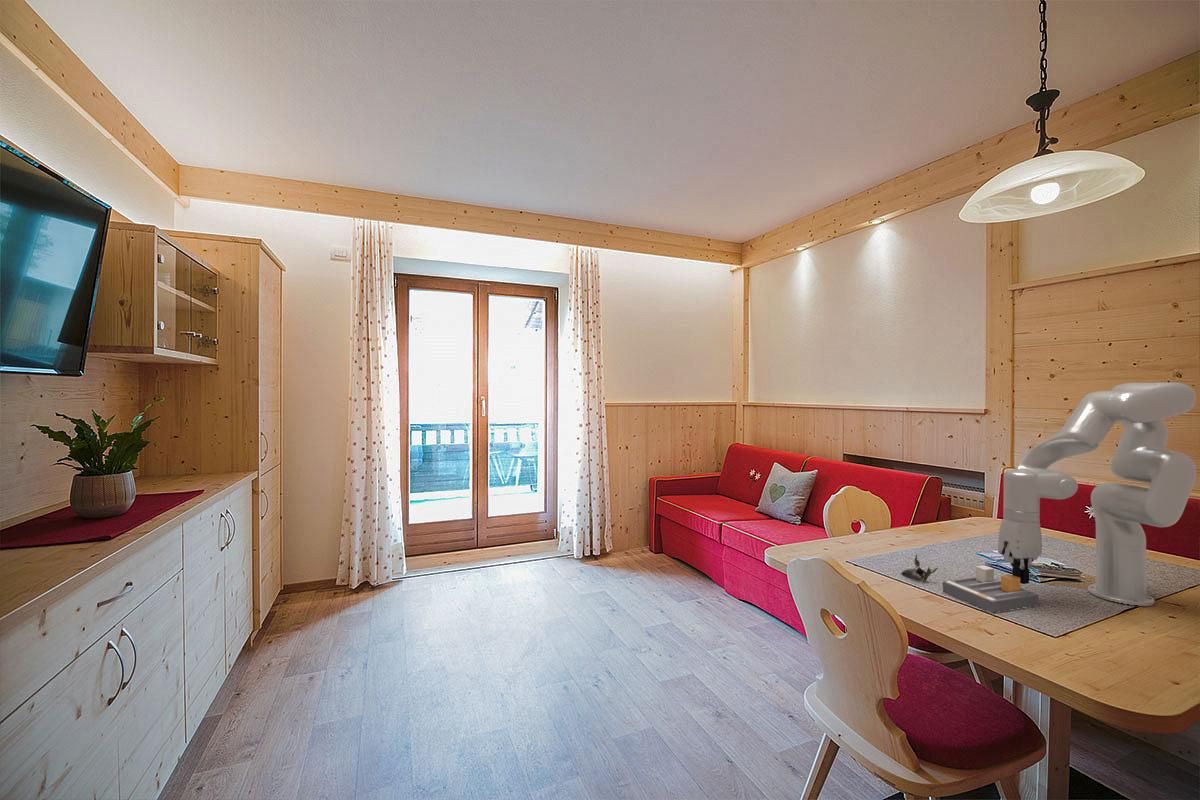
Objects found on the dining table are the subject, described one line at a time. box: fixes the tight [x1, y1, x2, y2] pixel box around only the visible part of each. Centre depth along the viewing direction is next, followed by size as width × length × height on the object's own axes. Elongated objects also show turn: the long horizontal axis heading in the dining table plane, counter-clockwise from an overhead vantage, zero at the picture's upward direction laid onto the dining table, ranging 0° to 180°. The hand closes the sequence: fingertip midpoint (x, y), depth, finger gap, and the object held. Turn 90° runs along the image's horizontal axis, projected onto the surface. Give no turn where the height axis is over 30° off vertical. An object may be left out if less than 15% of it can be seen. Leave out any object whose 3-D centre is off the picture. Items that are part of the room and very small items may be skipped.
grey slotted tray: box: [942, 576, 1040, 613], centre depth 136 cm, size 16×14×4 cm
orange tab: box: [1000, 573, 1021, 592], centre depth 133 cm, size 3×3×4 cm
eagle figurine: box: [901, 554, 938, 583], centre depth 151 cm, size 8×7×9 cm
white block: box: [975, 564, 995, 583], centre depth 140 cm, size 3×3×4 cm
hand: (1020, 581), depth 134 cm, fingers closed
